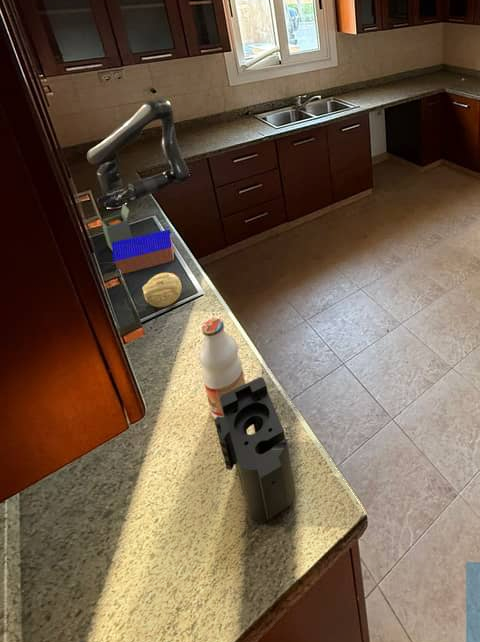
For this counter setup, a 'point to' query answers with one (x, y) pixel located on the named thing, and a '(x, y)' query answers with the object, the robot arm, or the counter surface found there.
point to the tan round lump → (162, 289)
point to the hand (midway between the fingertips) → (101, 203)
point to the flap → (125, 211)
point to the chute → (116, 230)
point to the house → (143, 251)
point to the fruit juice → (219, 364)
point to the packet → (114, 222)
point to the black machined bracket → (256, 449)
